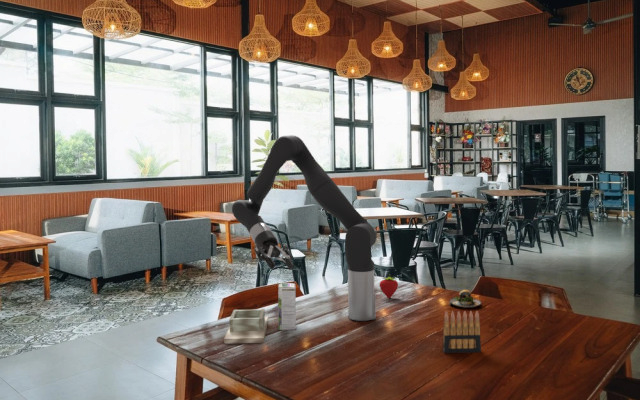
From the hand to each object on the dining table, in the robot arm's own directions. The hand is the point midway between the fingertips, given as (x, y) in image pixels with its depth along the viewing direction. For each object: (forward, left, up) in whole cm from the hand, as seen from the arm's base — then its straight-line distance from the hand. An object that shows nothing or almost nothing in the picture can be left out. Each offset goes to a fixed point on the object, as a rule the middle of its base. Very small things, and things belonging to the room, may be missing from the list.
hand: (283, 267), depth 184 cm
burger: (-68, -11, -19) cm, 72 cm away
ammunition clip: (-52, +36, -19) cm, 66 cm away
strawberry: (-41, -24, -18) cm, 51 cm away
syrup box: (-1, +10, -18) cm, 21 cm away
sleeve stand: (+12, +13, -18) cm, 25 cm away
